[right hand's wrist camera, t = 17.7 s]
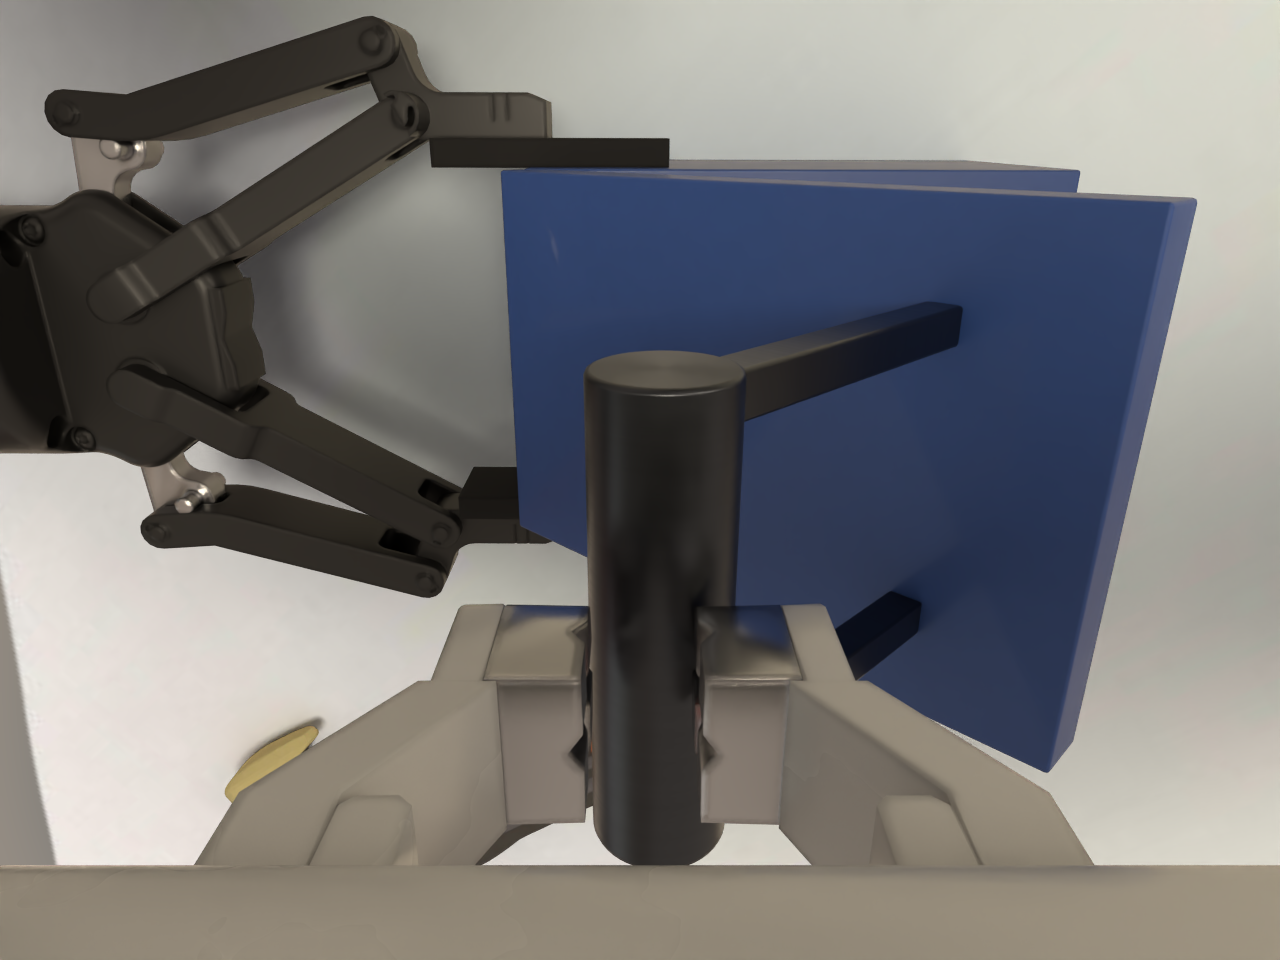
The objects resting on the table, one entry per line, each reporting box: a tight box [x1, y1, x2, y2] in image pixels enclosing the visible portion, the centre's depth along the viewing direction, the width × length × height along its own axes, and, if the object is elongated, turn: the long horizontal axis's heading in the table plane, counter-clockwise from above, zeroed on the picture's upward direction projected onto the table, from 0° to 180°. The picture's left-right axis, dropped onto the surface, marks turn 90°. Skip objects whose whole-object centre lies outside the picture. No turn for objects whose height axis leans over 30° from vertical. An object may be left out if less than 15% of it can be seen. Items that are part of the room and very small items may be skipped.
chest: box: [525, 160, 1080, 193], centre depth 29 cm, size 15×10×9 cm
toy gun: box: [225, 726, 593, 865], centre depth 40 cm, size 3×19×10 cm
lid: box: [501, 169, 1197, 865], centre depth 16 cm, size 15×10×9 cm
